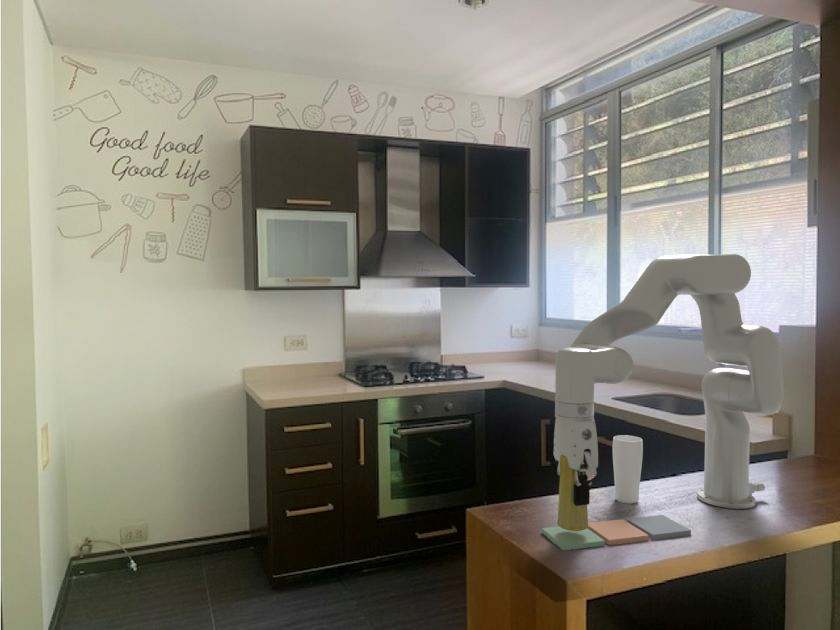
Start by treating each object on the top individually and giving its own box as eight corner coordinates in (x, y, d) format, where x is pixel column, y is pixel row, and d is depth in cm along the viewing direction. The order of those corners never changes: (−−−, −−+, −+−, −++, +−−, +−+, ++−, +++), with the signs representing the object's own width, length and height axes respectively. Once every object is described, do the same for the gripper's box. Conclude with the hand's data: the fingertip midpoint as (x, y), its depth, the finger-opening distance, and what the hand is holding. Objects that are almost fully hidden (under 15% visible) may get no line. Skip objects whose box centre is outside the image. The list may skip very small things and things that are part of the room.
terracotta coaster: (622, 523, 133) (622, 519, 133) (648, 540, 124) (648, 535, 124) (585, 528, 130) (585, 523, 130) (609, 545, 122) (609, 540, 121)
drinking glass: (643, 506, 143) (645, 442, 143) (613, 504, 145) (614, 441, 144) (639, 497, 150) (640, 435, 149) (610, 495, 151) (611, 434, 151)
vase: (567, 517, 129) (568, 449, 128) (594, 525, 124) (595, 455, 124) (551, 525, 124) (551, 455, 124) (578, 534, 120) (578, 461, 119)
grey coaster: (662, 519, 135) (662, 514, 135) (690, 535, 127) (690, 530, 127) (626, 523, 133) (626, 518, 133) (652, 539, 124) (653, 534, 124)
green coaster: (580, 528, 130) (580, 523, 130) (604, 545, 121) (604, 540, 121) (541, 532, 127) (541, 528, 127) (563, 550, 119) (563, 545, 119)
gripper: (615, 417, 116) (614, 512, 117) (569, 401, 133) (568, 484, 133) (579, 419, 114) (578, 516, 115) (537, 403, 131) (537, 487, 131)
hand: (573, 498), depth 124 cm, fingers closed on vase, 5 cm apart
